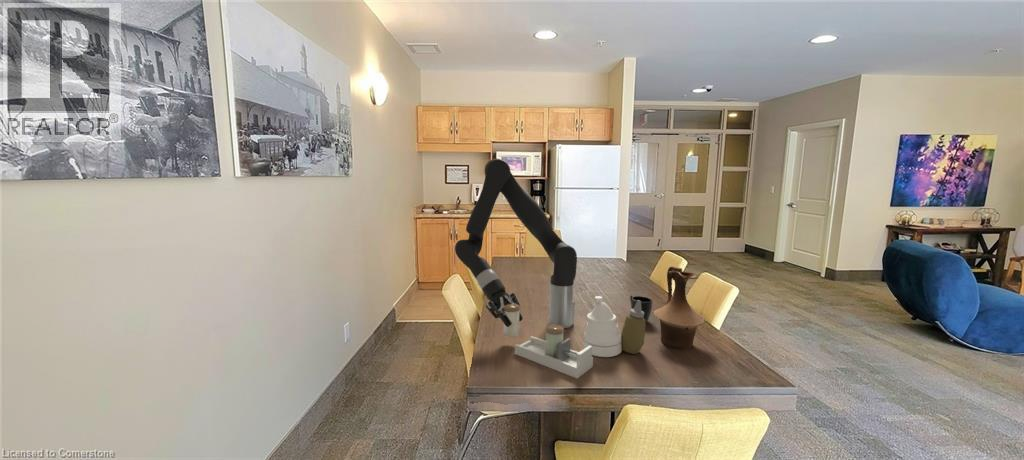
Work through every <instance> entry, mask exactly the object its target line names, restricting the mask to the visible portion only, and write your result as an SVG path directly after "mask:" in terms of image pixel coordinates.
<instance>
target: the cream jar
mask: <svg viewBox="0 0 1024 460" xmlns="http://www.w3.org/2000/svg"><path fill="white" fill-rule="evenodd" d="M520 307H521V305H520V306H519V305H518V304H516V303H515V304H510V303H509V304H507V305H504V311H505V315H507V317H508V318H509V320H510V321H511V323H512V324H511V325H510V326H509V327H507V326H506V325H505V324H504V323H503V335H504V336H507V337H509V338H510V337H517V336H519V335H520V322H519V312H520Z"/></svg>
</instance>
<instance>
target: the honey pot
mask: <svg viewBox="0 0 1024 460" xmlns="http://www.w3.org/2000/svg"><path fill="white" fill-rule="evenodd" d="M594 300H595V302H596V303H597V304H596V305H595V306H594V308H593V309H592V311H591V312H589V313H587V315H586V319H587V323H586V327H585V329H584V332H583V349H585V348H586V347H588V346H589V345H590V346H592V356H594V357H600V358H611V357H615V356H618V355H620V354H621V353H622V341H621V340H622V339H621V338H622V337H621V331H620V328H619V324H618V323H617V321H616V320H617V316H616V315H615V314H614V313H613V311H612V310H611V307H610V306H609V304H607V303H605V302H603V296H601V295H597V296H594Z"/></svg>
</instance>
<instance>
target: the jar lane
mask: <svg viewBox="0 0 1024 460" xmlns="http://www.w3.org/2000/svg"><path fill="white" fill-rule="evenodd" d="M529 337H530V339H529V340H527V341H525V342H523V343H521V344H518V343H515V345H514V354H515V355H516V356H520V357H521V358H525V359H526V360H530V361H532V362H535V363H537V364H540V365H542V366H545V367H547V368H550V369H552V370H554V371H558V372H560V373H562V374H565V375H568V376H570V377H572V378H575V379H579V378H580V377H582V376H583V375H584V374H586V372H588V371H590V369H592V368H594V367H593V366H594V357H593V355H592V346H590V345H589V346H588V347H586V348H585V349H584V348H583V349H582V350H580V351H577V350H574V349H571V348H570V353H572V354H575V355H576V357H575V358H573V357H570V356H569V357H568V358H567V359H565V360H564V361H561V360H559V359H556V358H553V357H551V356H548V355H545V346H546V339H541V338H539V337H536V336H532V335H531V336H529Z"/></svg>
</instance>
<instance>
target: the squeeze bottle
mask: <svg viewBox="0 0 1024 460" xmlns="http://www.w3.org/2000/svg"><path fill="white" fill-rule="evenodd" d="M643 317H644V312H643V311H641V301H639V300H638V301H637V303H636V305H635V307H634V309H629V314H627V315H626V316H625V319H624V323H623V326H622V329H621V331H620V333H621V337H622V338H621V339H622V340H621V341H622V350H623V352H625V353H629V354H632V355H633V354H634V355H635V354H636V355H637V354H639V352H640V351H641V349H642V347H643V346H644V344H645V335H646V334H645V333H646V324H647V323H646V320H645V319H644V318H643Z"/></svg>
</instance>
